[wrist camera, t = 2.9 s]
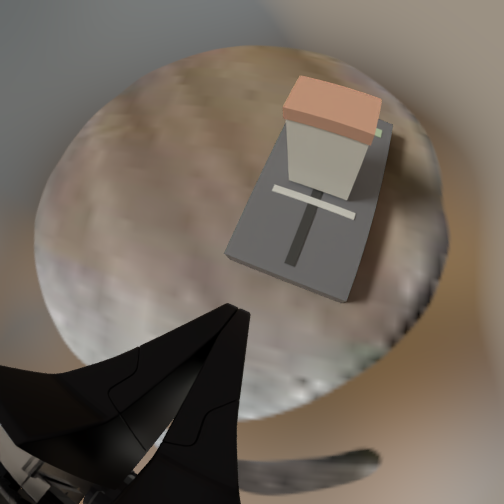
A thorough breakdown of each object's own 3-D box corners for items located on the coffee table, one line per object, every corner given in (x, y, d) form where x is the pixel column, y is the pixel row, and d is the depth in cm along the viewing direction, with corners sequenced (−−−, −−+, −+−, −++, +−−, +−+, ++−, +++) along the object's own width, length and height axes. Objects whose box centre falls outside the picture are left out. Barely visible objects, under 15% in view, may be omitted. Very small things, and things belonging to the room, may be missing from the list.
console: (341, 303, 21) (346, 301, 19) (229, 259, 23) (223, 253, 21) (388, 136, 24) (393, 123, 22) (299, 107, 26) (299, 94, 24)
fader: (347, 202, 21) (374, 135, 12) (287, 180, 22) (282, 107, 13) (357, 170, 21) (381, 99, 13) (299, 151, 22) (299, 75, 14)
